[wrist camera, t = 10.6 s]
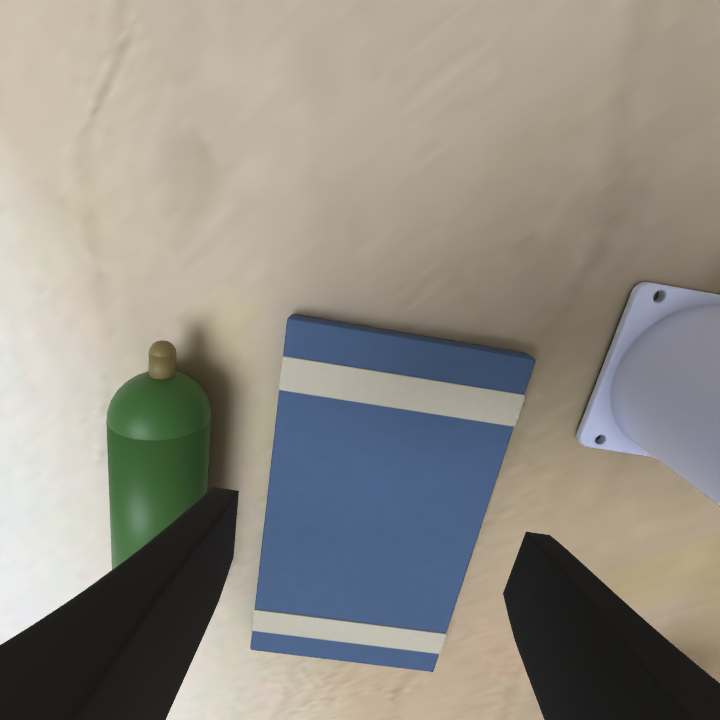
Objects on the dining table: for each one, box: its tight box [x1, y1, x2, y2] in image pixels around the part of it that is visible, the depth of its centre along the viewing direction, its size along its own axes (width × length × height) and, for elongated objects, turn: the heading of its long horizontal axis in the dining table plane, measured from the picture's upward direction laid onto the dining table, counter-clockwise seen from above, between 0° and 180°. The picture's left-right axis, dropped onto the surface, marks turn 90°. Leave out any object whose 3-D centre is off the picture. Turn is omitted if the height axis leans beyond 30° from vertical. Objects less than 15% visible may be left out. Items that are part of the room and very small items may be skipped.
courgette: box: [107, 341, 211, 570], centre depth 18 cm, size 15×4×4 cm, turn 170°
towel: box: [250, 314, 535, 672], centre depth 20 cm, size 11×20×1 cm, turn 170°
